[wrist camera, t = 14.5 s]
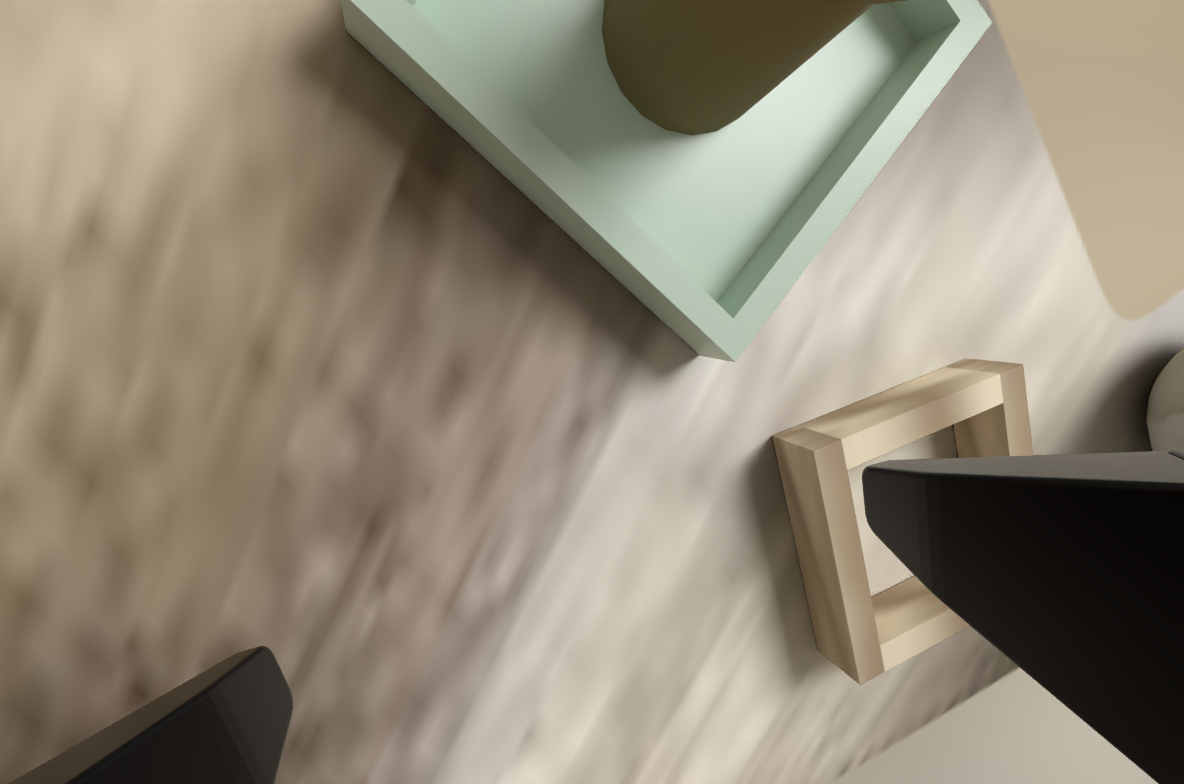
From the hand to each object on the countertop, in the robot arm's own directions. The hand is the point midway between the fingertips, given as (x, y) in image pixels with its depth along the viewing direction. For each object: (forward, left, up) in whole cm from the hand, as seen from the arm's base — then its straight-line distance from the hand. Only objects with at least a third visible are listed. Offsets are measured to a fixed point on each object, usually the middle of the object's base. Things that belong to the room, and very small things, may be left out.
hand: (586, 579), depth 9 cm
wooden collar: (+13, -12, -12) cm, 22 cm away
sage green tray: (+12, +8, -12) cm, 19 cm away
